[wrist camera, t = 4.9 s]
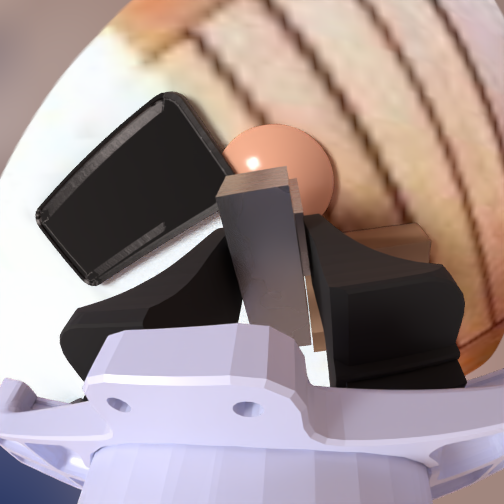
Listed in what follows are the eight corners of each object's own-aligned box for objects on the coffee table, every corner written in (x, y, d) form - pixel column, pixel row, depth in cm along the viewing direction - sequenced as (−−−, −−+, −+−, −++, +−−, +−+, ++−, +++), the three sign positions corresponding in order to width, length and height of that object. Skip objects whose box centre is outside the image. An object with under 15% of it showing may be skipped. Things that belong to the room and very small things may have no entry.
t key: (308, 258, 16) (319, 343, 11) (258, 264, 17) (249, 351, 12) (290, 142, 13) (300, 183, 8) (232, 152, 14) (204, 199, 9)
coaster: (337, 226, 20) (338, 229, 19) (230, 241, 21) (229, 244, 21) (324, 115, 16) (325, 116, 16) (203, 136, 18) (201, 138, 17)
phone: (31, 216, 20) (171, 84, 15) (39, 210, 21) (177, 83, 16) (91, 291, 23) (248, 195, 18) (97, 283, 24) (249, 189, 19)
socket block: (408, 313, 23) (418, 334, 21) (311, 328, 24) (314, 351, 22) (416, 222, 19) (431, 240, 17) (300, 238, 20) (302, 259, 18)
